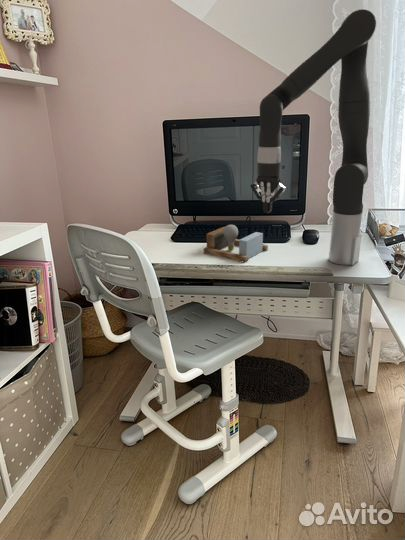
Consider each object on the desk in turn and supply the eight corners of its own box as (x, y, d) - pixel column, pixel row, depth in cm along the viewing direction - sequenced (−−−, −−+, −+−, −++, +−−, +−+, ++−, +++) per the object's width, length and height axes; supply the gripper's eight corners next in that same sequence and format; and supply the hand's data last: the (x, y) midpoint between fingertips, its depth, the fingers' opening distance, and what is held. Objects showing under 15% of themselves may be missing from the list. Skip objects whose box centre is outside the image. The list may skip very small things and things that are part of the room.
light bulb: (220, 251, 160) (220, 225, 157) (229, 247, 164) (229, 222, 161) (232, 254, 157) (232, 227, 154) (240, 250, 161) (241, 224, 157)
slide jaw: (262, 250, 159) (262, 233, 157) (246, 259, 151) (246, 241, 148) (254, 249, 161) (254, 231, 159) (238, 257, 153) (238, 239, 150)
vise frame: (267, 250, 160) (268, 232, 158) (245, 262, 148) (245, 243, 146) (227, 242, 170) (227, 225, 168) (203, 253, 159) (203, 235, 156)
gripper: (292, 160, 139) (289, 212, 145) (257, 158, 146) (255, 208, 153) (282, 163, 134) (279, 217, 140) (245, 160, 141) (244, 212, 147)
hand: (267, 212), depth 146 cm, fingers closed
